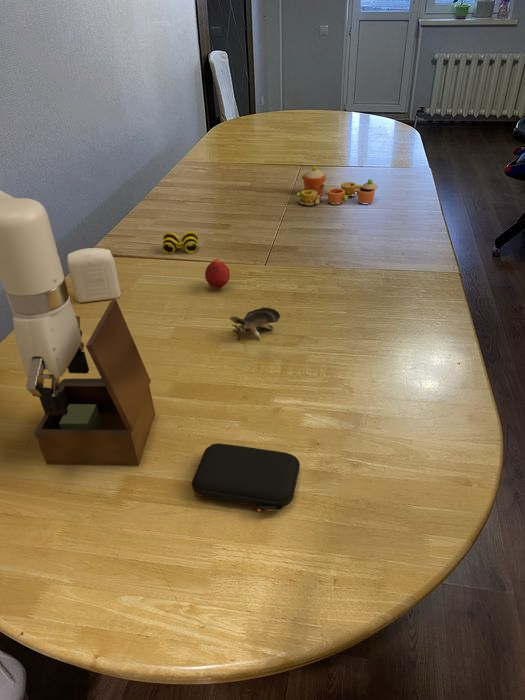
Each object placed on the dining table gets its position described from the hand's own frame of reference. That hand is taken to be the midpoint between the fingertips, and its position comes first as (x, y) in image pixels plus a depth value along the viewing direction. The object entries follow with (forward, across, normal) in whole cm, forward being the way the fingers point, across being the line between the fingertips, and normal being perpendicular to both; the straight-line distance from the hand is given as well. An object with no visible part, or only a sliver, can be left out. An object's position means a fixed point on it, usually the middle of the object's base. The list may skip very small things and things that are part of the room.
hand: (68, 392), depth 79 cm
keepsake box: (+10, 0, +4) cm, 10 cm away
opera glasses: (+10, -72, +4) cm, 72 cm away
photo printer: (+10, -46, -11) cm, 48 cm away
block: (+9, 0, +1) cm, 9 cm away
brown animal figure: (+10, -30, +27) cm, 41 cm away
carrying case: (+9, +9, +28) cm, 31 cm away
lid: (-5, 0, +9) cm, 10 cm away
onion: (+10, -50, +17) cm, 53 cm away
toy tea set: (+10, -111, +49) cm, 121 cm away
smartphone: (+10, -11, -1) cm, 14 cm away
